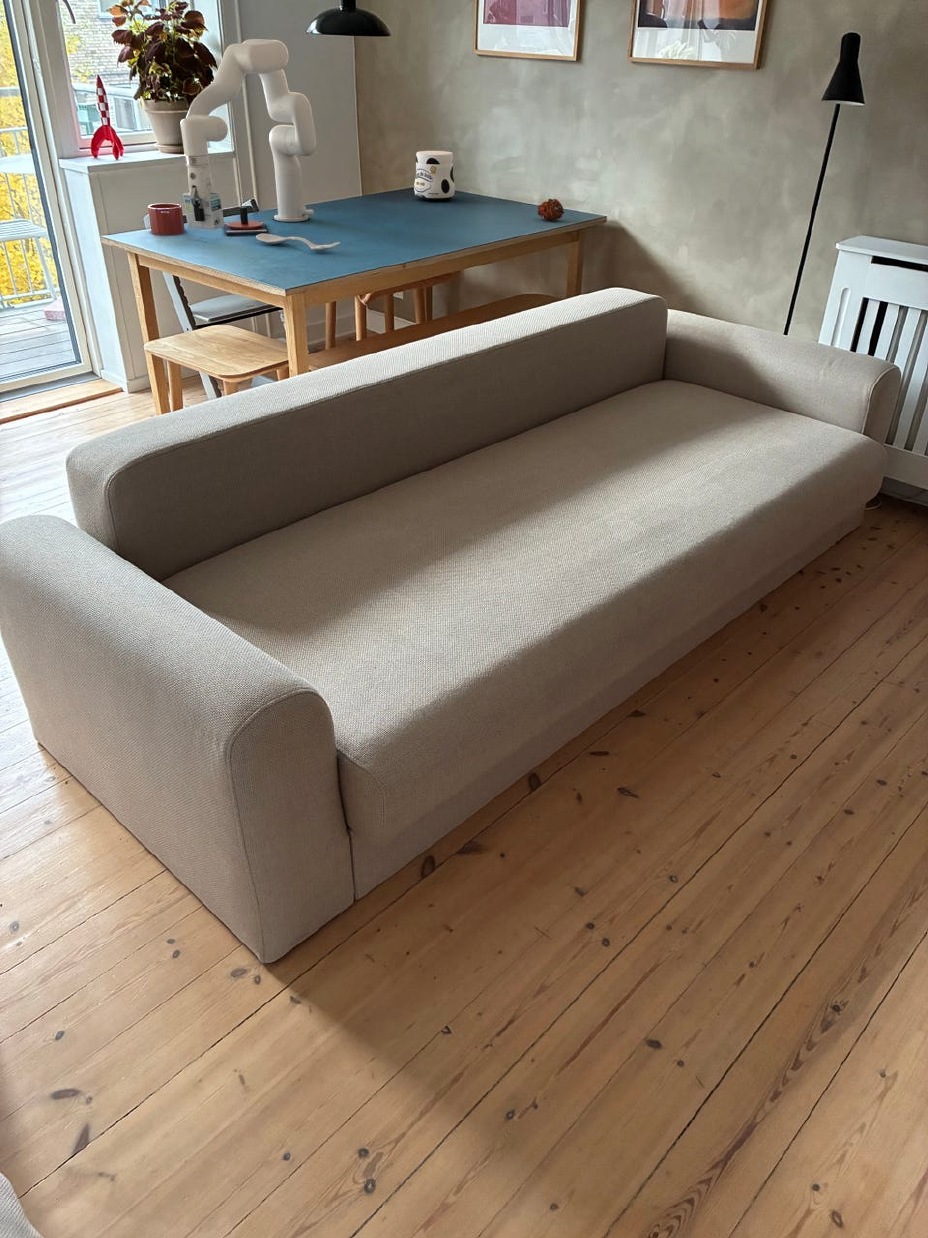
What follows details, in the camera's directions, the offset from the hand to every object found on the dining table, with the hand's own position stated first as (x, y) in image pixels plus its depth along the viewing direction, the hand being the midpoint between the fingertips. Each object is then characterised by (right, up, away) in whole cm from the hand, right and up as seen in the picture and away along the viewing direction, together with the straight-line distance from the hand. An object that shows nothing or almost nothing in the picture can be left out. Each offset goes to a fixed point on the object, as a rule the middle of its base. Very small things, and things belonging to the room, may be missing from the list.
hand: (205, 218), depth 319 cm
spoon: (+32, -13, -6) cm, 35 cm away
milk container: (+75, +43, +84) cm, 120 cm away
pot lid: (+9, +5, +17) cm, 20 cm away
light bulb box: (0, -3, +2) cm, 3 cm away
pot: (-16, +1, +13) cm, 21 cm away
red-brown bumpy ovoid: (+120, +19, +46) cm, 130 cm away
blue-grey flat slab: (+9, +4, +18) cm, 21 cm away
